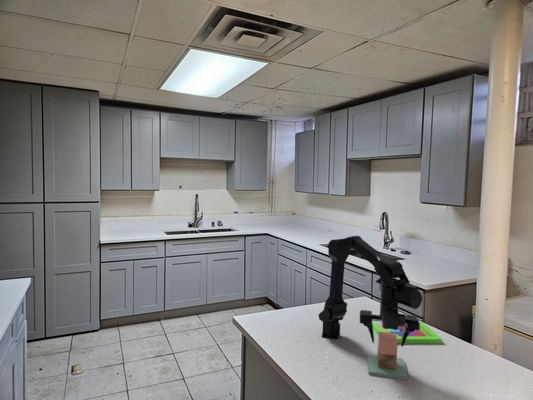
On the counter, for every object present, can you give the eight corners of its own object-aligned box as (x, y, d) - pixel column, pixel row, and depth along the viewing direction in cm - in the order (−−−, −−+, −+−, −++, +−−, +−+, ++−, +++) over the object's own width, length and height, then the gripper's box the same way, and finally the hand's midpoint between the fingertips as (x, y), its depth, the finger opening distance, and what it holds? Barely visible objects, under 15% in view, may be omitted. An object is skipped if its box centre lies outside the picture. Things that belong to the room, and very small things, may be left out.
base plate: (368, 374, 117) (368, 371, 117) (367, 356, 128) (367, 353, 128) (407, 380, 114) (407, 377, 114) (402, 361, 125) (403, 358, 125)
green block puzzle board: (441, 344, 140) (412, 319, 165) (441, 339, 140) (413, 314, 165) (384, 344, 139) (364, 318, 164) (384, 339, 139) (364, 314, 164)
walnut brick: (378, 367, 119) (378, 353, 119) (377, 359, 124) (377, 345, 124) (396, 370, 118) (396, 355, 117) (394, 361, 123) (394, 347, 123)
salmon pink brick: (379, 353, 119) (379, 338, 118) (377, 345, 124) (378, 331, 124) (396, 355, 117) (397, 340, 117) (395, 347, 123) (395, 333, 122)
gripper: (360, 304, 114) (358, 351, 115) (424, 310, 109) (421, 360, 110) (360, 293, 125) (358, 336, 126) (417, 298, 120) (415, 344, 121)
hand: (387, 344), depth 121 cm, fingers open, 9 cm apart
